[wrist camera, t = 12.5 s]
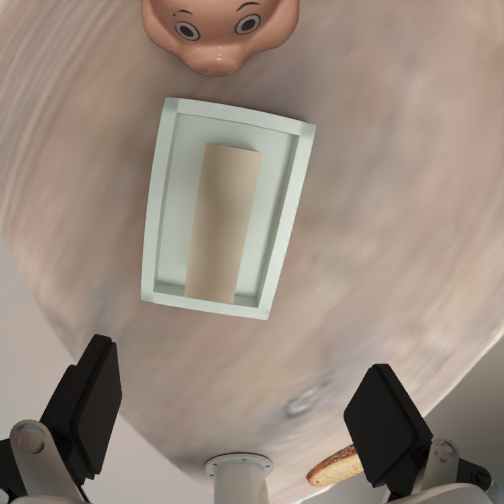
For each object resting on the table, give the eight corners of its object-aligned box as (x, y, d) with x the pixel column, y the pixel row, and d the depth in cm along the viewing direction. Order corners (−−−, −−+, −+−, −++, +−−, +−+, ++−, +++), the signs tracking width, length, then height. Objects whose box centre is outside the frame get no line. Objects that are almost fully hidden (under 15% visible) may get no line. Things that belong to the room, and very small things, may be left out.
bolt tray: (264, 306, 31) (267, 319, 28) (146, 288, 29) (140, 300, 26) (308, 126, 24) (316, 125, 22) (171, 100, 22) (165, 96, 20)
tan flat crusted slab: (304, 482, 50) (307, 495, 47) (310, 450, 44) (314, 465, 40) (376, 464, 51) (381, 475, 48) (396, 426, 45) (403, 440, 41)
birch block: (256, 151, 24) (263, 153, 20) (231, 276, 28) (232, 303, 24) (210, 142, 24) (206, 143, 19) (190, 270, 28) (183, 296, 23)
